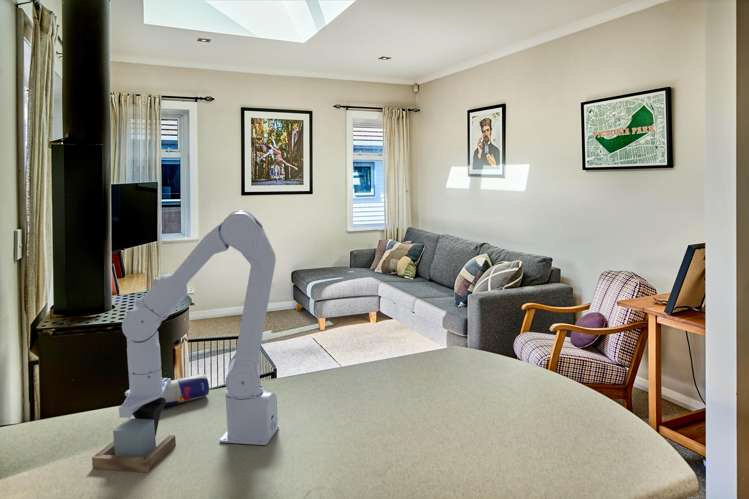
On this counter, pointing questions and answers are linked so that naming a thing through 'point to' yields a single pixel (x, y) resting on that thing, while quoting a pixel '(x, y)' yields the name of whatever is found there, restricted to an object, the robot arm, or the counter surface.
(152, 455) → the bay
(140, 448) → the pale blue-grey cube
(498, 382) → the counter surface
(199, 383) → the energy drink
